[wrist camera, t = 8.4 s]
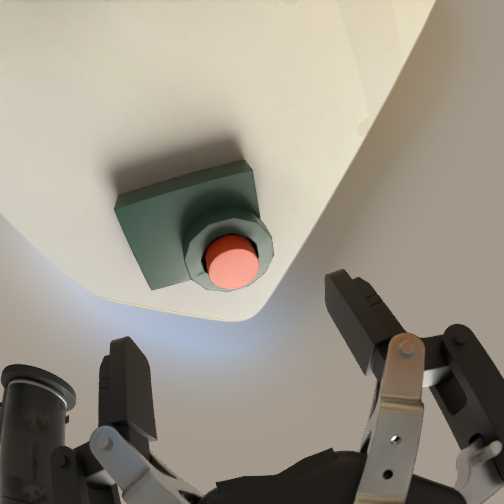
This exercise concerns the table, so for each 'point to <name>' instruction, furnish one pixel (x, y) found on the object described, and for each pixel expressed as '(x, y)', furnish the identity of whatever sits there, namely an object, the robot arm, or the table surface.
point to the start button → (231, 262)
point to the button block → (192, 223)
